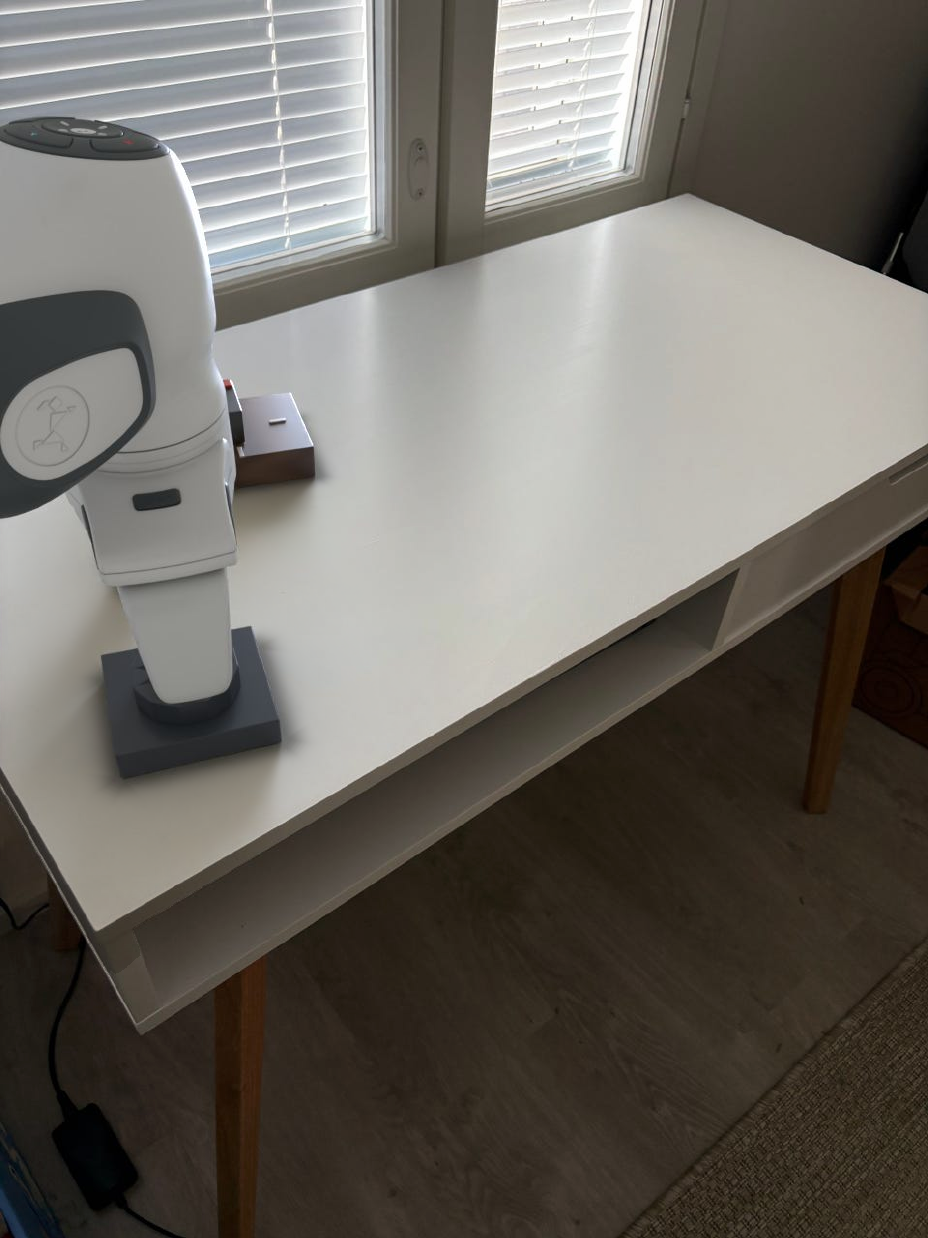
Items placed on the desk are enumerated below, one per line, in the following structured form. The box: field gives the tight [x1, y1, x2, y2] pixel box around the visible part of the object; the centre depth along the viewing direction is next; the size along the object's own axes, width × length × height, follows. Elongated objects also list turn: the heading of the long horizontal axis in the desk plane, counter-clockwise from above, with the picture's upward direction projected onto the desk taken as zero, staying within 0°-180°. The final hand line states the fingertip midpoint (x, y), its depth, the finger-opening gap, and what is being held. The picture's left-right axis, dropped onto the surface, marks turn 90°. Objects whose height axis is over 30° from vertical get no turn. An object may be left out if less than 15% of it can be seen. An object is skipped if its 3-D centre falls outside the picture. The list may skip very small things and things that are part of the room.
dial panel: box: [233, 391, 316, 489], centre depth 86 cm, size 12×9×3 cm
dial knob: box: [222, 378, 245, 443], centre depth 84 cm, size 5×1×3 cm, turn 20°
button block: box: [100, 625, 283, 779], centre depth 65 cm, size 10×9×4 cm
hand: (184, 642), depth 62 cm, fingers closed
